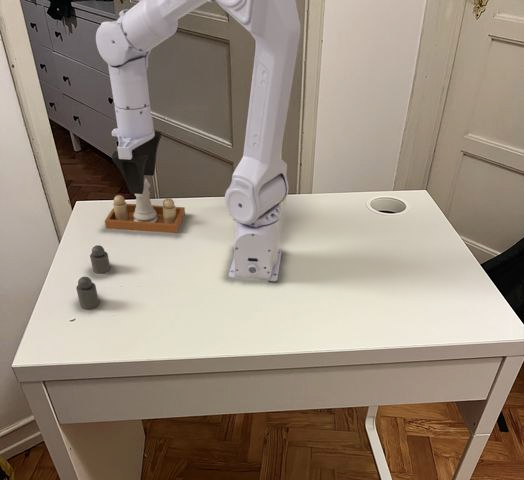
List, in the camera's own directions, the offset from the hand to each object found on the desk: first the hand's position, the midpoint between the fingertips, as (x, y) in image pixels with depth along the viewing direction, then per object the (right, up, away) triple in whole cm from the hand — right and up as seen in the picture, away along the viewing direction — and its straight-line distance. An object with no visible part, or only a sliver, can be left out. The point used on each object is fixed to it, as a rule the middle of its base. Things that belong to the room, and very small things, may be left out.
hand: (142, 183), depth 101 cm
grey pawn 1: (-5, -23, -14) cm, 27 cm away
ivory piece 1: (-5, -5, +5) cm, 9 cm away
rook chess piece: (0, -6, +5) cm, 8 cm away
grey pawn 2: (-5, -17, -7) cm, 19 cm away
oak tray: (0, -6, +5) cm, 8 cm away
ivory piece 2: (+4, -6, +5) cm, 9 cm away
